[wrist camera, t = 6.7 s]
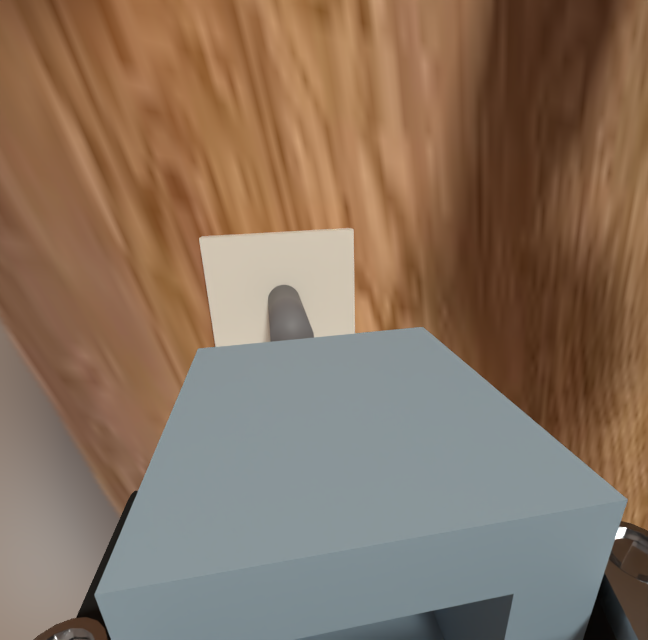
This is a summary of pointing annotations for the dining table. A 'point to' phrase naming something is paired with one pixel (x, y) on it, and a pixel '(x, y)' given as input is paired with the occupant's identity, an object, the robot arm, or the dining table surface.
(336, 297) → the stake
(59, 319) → the dining table surface
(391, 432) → the collar
